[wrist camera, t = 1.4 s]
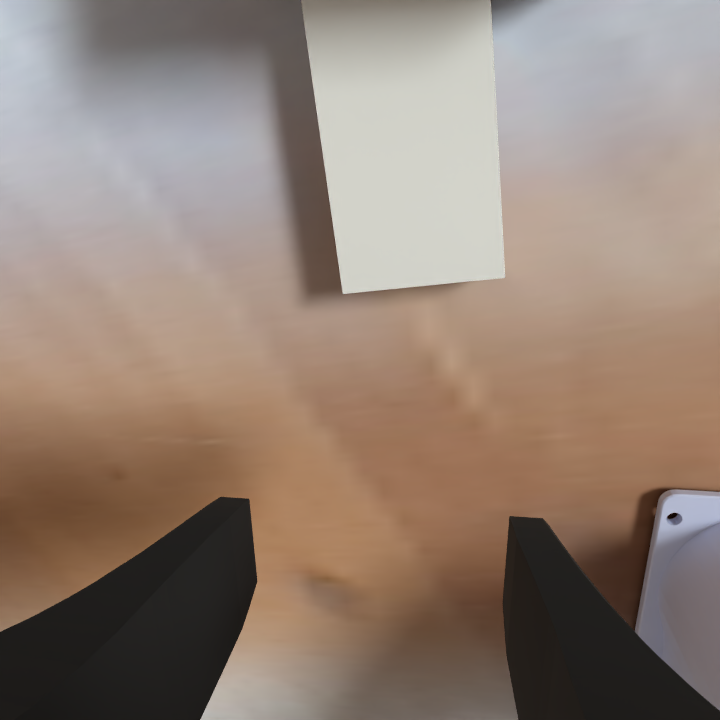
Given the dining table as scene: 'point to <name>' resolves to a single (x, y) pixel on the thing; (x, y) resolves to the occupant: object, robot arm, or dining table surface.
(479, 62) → the tile
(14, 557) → the dining table surface
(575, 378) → the dining table surface
